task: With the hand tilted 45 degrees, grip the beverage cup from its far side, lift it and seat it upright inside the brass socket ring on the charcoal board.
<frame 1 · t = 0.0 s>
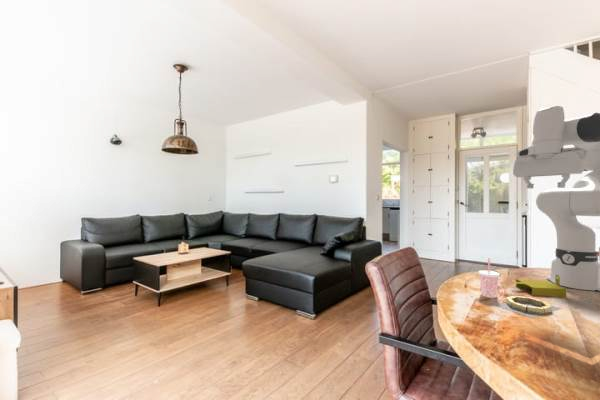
hand: (544, 188, 104), 39 cm above the table, tool pointing down, fingers open, 8 cm apart
board: (528, 310, 89), on the table
beverage cup: (488, 298, 100), on the table
bracket: (534, 295, 105), on the table
socket: (528, 307, 89), resting on board
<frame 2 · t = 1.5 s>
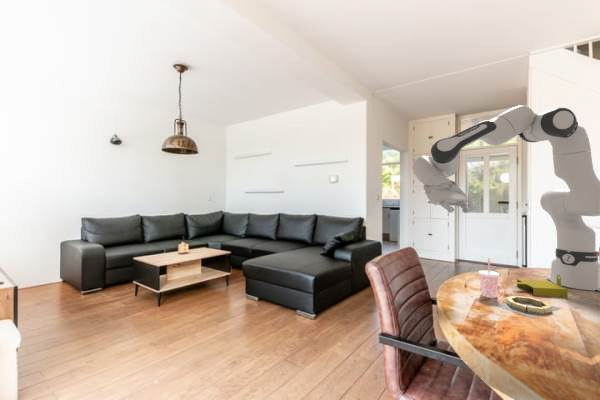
hand: (459, 211, 110), 30 cm above the table, tool tilted 45°, fingers open, 8 cm apart
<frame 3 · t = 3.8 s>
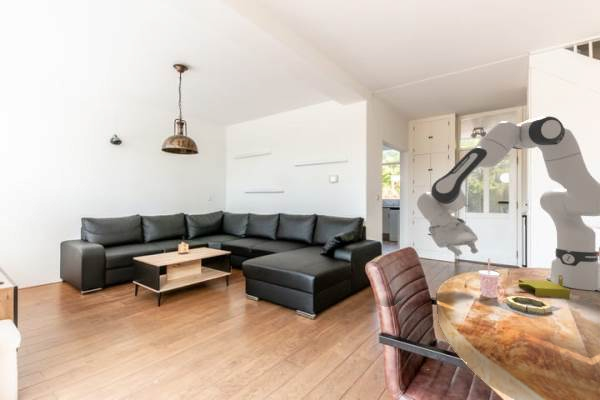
hand: (467, 253, 107), 14 cm above the table, tool tilted 45°, fingers open, 8 cm apart
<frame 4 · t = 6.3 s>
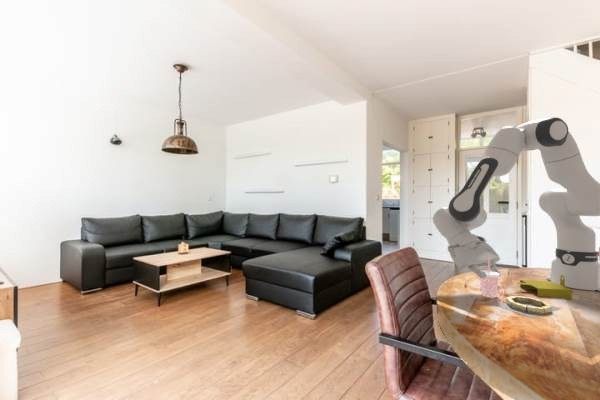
hand: (490, 276, 99), 8 cm above the table, tool tilted 45°, fingers closed on beverage cup, 6 cm apart
beverage cup: (488, 298, 100), on the table, touching gripper
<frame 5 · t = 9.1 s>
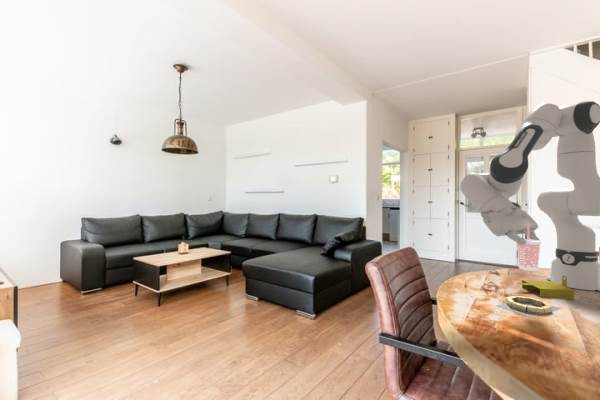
hand: (530, 243, 88), 21 cm above the table, tool tilted 45°, fingers closed on beverage cup, 6 cm apart
beverage cup: (528, 269, 89), point 13 cm above the table, touching gripper
when the fingers open (10 cm above the table, at t = 12.2 s): beverage cup stays where it is, resting on board.
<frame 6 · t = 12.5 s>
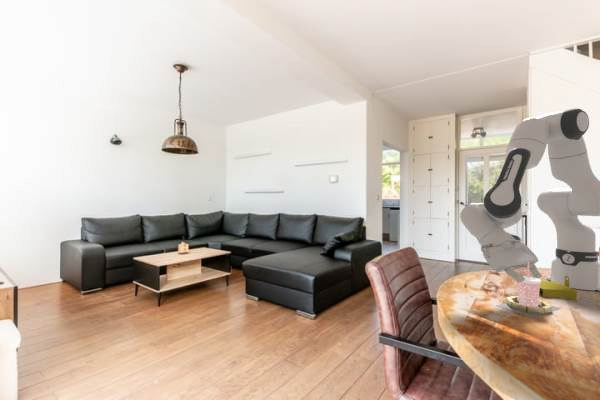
hand: (530, 279, 88), 10 cm above the table, tool tilted 45°, fingers open, 8 cm apart
beverage cup: (528, 307, 89), point 1 cm above the table, touching board
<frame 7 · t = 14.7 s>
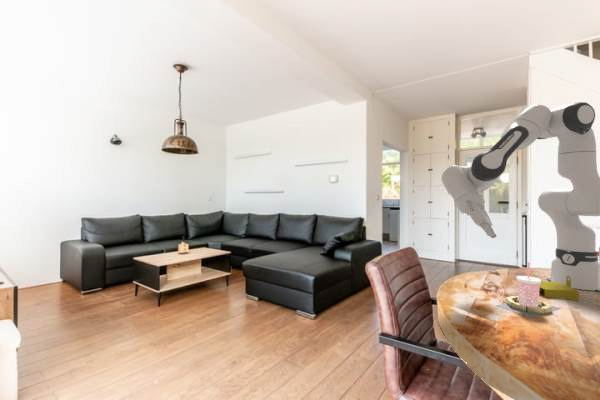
hand: (493, 236, 101), 21 cm above the table, tool tilted 35°, fingers open, 8 cm apart
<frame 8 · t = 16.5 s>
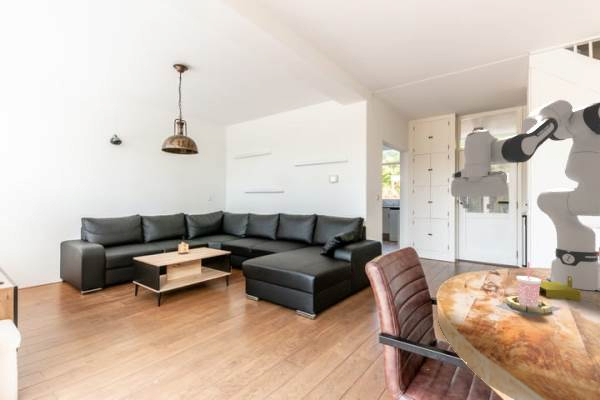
hand: (477, 208, 109), 31 cm above the table, tool pointing down, fingers open, 8 cm apart
at the end: beverage cup 0.1 cm off-centre on the socket, point 0.0 cm above the socket's base; beverage cup tilted 0°; the gripper is holding nothing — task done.
